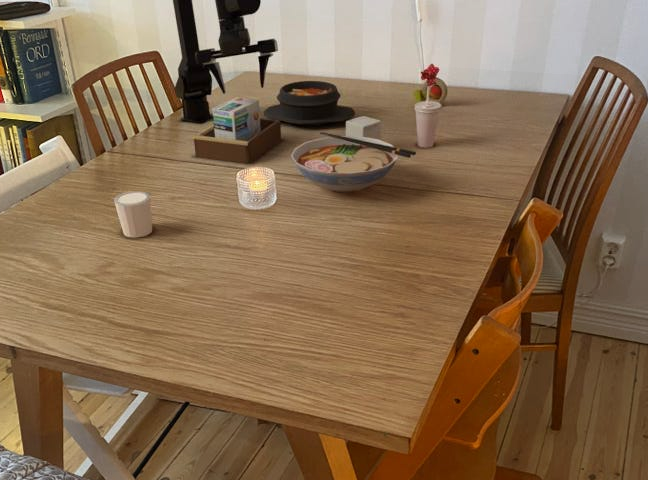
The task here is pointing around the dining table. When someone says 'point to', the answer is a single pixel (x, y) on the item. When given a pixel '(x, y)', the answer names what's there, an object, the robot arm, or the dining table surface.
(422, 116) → the smoothie
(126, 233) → the shot glass
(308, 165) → the ramen bowl
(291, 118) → the casserole
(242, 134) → the light bulb box
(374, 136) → the product box
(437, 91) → the multicoloured rounded piece
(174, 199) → the dining table surface
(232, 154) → the wooden box
